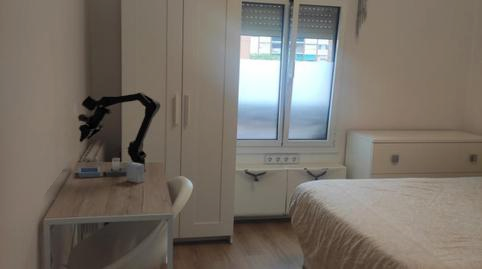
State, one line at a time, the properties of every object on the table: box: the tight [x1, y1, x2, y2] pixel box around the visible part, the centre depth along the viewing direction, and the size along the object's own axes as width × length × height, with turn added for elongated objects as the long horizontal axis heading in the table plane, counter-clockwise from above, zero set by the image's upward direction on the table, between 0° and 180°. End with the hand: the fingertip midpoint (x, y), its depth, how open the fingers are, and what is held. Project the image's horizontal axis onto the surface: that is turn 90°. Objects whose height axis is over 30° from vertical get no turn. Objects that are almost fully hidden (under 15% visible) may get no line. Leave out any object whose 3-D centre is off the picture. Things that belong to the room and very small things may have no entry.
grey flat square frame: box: [104, 167, 127, 177], centre depth 227 cm, size 10×10×2 cm
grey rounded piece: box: [111, 157, 121, 171], centre depth 227 cm, size 4×4×8 cm
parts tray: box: [78, 166, 101, 179], centre depth 223 cm, size 10×12×2 cm
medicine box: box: [126, 161, 145, 184], centre depth 214 cm, size 8×4×9 cm, turn 58°
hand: (84, 140), depth 238 cm, fingers open, 9 cm apart
